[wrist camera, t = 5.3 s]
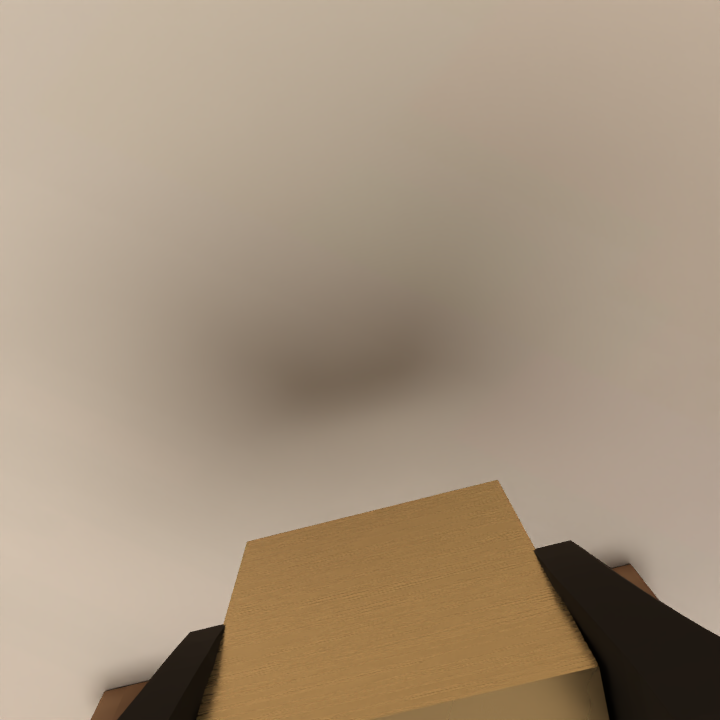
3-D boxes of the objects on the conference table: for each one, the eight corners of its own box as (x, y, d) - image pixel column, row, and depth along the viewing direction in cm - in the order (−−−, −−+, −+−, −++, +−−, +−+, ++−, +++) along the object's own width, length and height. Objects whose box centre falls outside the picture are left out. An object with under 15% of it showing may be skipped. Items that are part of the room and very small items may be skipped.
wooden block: (497, 480, 12) (598, 666, 7) (517, 569, 13) (624, 799, 8) (247, 541, 12) (183, 762, 8) (276, 627, 13) (233, 887, 8)
